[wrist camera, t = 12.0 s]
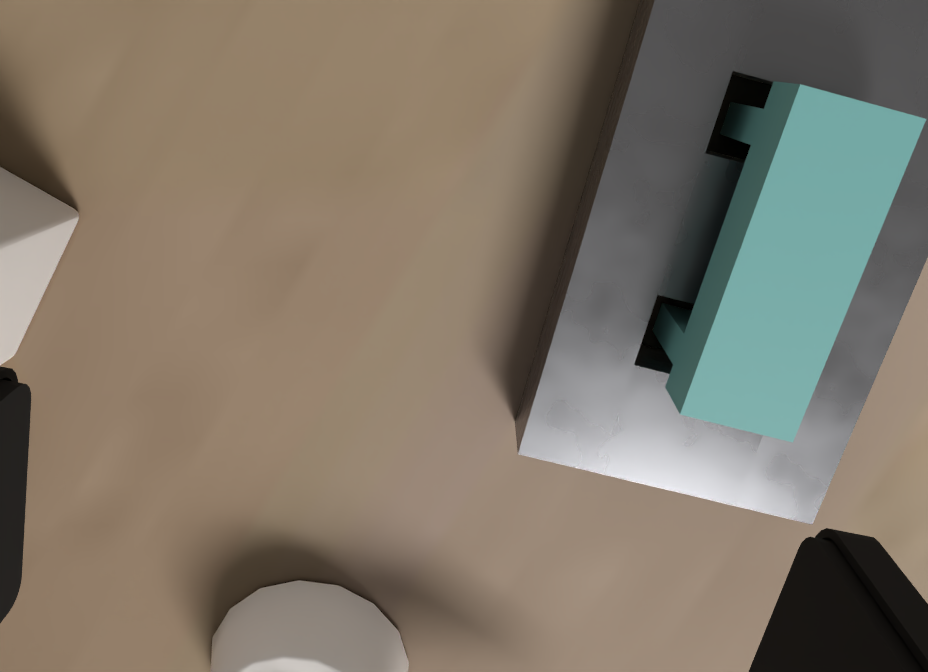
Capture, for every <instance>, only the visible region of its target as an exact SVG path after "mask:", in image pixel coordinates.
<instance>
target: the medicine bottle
mask: <svg viewBox="0 0 928 672" xmlns="http://www.w3.org/2000/svg"><path fill="white" fill-rule="evenodd" d="M78 220H79V214H78V212H77V211H76V210H75V209H74V208H72V207H70V206H69V205H67V204H65V203H63V202H62V201H60V200H58V199H56V198H55V197H53V196H51V195H49V194H47V193H46V192H44V191H42V190H40V189H39V188H37V187H35V186H33V185H32V184H30V183H28V182H26V181H24V180H23V179H21V178H19V177H17V176H16V175H14V174H12V173H10V172H9V171H7V170H5V169H3V168H1V167H0V365H1V364H3V363H4V362H6V361H7V360H9V359H10V358H12V357H13V356H14V355H15V353H16V352H17V349H18V347H19V345H20V343H21V341H22V339H23V337H24V335H25V332H26V330H27V328H28V326H29V324H30V322H31V320H32V318H33V315H34V313H35V311H36V309H37V307H38V305H39V303H40V301H41V298H42V296H43V294H44V292H45V290H46V288H47V286H48V284H49V281H50V279H51V277H52V275H53V273H54V271H55V269H56V267H57V265H58V262H59V260H60V258H61V256H62V254H63V252H64V250H65V248H66V245H67V243H68V241H69V239H70V237H71V235H72V233H73V231H74V228H75V226H76V224H77V222H78Z"/></svg>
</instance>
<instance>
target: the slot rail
mask: <svg viewBox="0 0 928 672" xmlns="http://www.w3.org/2000/svg"><path fill="white" fill-rule="evenodd" d="M731 75H735V76H739V77H743V78H746V79H750V80H754V81H757V82H761V83H765V84H768V85H772V84H773V82H774V81H776V82H785V83H794V84H801V85H805V86H809V87H812V88H816V89H820V90H823V91H827V92H830V93H834V94H838V95H841V96H845V97H849V98H852V99H856V100H859V101H863V102H867V103H870V104H874V105H878V106H881V107H885V108H889V109H892V110H896V111H899V112H903V113H907V114H910V115H914V116H918V117H921V118H925V119H926V121H925V124H924V126H923V129H922V131H921V133H920V136H919V138H918V141H917V143H916V145H915V148H914V150H913V153H912V155H911V158H910V160H909V162H908V165H907V167H906V170H905V172H904V175H903V177H902V179H901V182H900V184H899V187H898V189H897V191H896V194H895V196H894V199H893V201H892V204H891V206H890V208H889V211H888V213H887V216H886V218H885V221H884V223H883V225H882V228H881V230H880V233H879V235H878V237H877V240H876V242H875V245H874V247H873V250H872V252H871V254H870V257H869V259H868V262H867V264H866V267H865V269H864V271H863V274H862V276H861V279H860V281H859V283H858V286H857V288H856V291H855V293H854V296H853V298H852V300H851V303H850V305H849V308H848V310H847V313H846V315H845V317H844V320H843V322H842V325H841V327H840V329H839V332H838V334H837V337H836V339H835V342H834V344H833V346H832V349H831V351H830V354H829V356H828V359H827V361H826V363H825V366H824V368H823V371H822V373H821V375H820V378H819V380H818V383H817V385H816V388H815V390H814V392H813V395H812V397H811V400H810V402H809V405H808V407H807V409H806V412H805V414H804V417H803V419H802V421H801V424H800V426H799V429H798V431H797V434H796V436H795V438H794V441H793V442H789V441H785V440H781V439H777V438H773V437H769V436H765V435H760V434H756V433H752V432H748V431H744V430H740V429H736V428H732V427H728V426H724V425H720V424H716V423H712V422H708V421H704V420H700V419H696V418H692V417H688V416H684V415H680V414H679V412H678V410H677V408H676V406H675V404H674V403H673V401H672V399H671V397H670V395H669V393H668V392H667V390H666V388H665V386H666V383H667V380H668V378H669V375H670V372H671V369H672V366H673V364H672V362H671V360H670V359H669V357H668V355H667V354H666V352H665V350H661V349H657V348H653V347H649V346H645V345H641V343H642V340H643V337H644V334H645V331H646V328H647V325H648V322H649V319H650V316H651V313H652V310H653V307H654V304H655V301H656V298H657V295H661V296H665V297H668V298H672V299H676V300H680V301H684V302H688V303H692V304H695V301H696V299H697V296H698V293H699V290H700V287H701V285H702V282H703V279H704V276H705V273H706V270H707V268H708V265H709V262H710V259H711V256H712V254H713V251H714V248H715V245H716V242H717V239H718V237H719V234H720V231H721V228H722V225H723V223H724V220H725V217H726V214H727V211H728V208H729V206H730V203H731V200H732V197H733V194H734V191H735V189H736V186H737V183H738V180H739V177H740V175H741V172H742V169H743V166H744V163H745V160H743V159H739V158H736V157H732V156H728V155H724V154H721V153H717V152H713V151H709V150H706V149H707V146H708V143H709V140H710V137H711V134H712V131H713V128H714V125H715V122H716V119H717V116H718V113H719V110H720V108H721V105H722V102H723V99H724V96H725V93H726V90H727V87H728V84H729V81H730V78H731ZM927 257H928V0H640V3H639V6H638V10H637V13H636V17H635V20H634V23H633V27H632V30H631V33H630V37H629V40H628V43H627V47H626V50H625V54H624V57H623V60H622V64H621V67H620V70H619V74H618V77H617V81H616V84H615V87H614V91H613V94H612V97H611V101H610V104H609V107H608V111H607V114H606V118H605V121H604V124H603V128H602V131H601V134H600V138H599V141H598V145H597V148H596V151H595V155H594V158H593V161H592V165H591V168H590V171H589V175H588V178H587V182H586V185H585V188H584V192H583V195H582V198H581V202H580V205H579V209H578V212H577V215H576V219H575V222H574V225H573V229H572V232H571V235H570V239H569V242H568V246H567V249H566V252H565V256H564V259H563V262H562V266H561V269H560V273H559V276H558V279H557V283H556V286H555V289H554V293H553V296H552V299H551V303H550V306H549V310H548V313H547V316H546V320H545V323H544V326H543V330H542V333H541V337H540V340H539V343H538V347H537V350H536V353H535V357H534V360H533V363H532V367H531V370H530V374H529V377H528V380H527V384H526V387H525V390H524V394H523V397H522V401H521V404H520V407H519V411H518V414H517V417H516V421H515V428H516V439H517V449H518V454H520V455H524V456H528V457H532V458H537V459H541V460H545V461H549V462H553V463H558V464H562V465H566V466H570V467H574V468H578V469H583V470H587V471H591V472H595V473H599V474H603V475H608V476H612V477H616V478H620V479H624V480H629V481H633V482H637V483H641V484H645V485H649V486H654V487H658V488H662V489H666V490H670V491H674V492H679V493H683V494H687V495H691V496H695V497H700V498H704V499H708V500H712V501H716V502H720V503H725V504H729V505H733V506H737V507H741V508H745V509H750V510H754V511H758V512H762V513H766V514H771V515H775V516H779V517H783V518H787V519H791V520H796V521H800V522H804V523H808V524H813V522H814V519H815V517H816V515H817V512H818V510H819V508H820V505H821V503H822V501H823V498H824V496H825V494H826V491H827V489H828V487H829V485H830V482H831V480H832V478H833V475H834V473H835V471H836V468H837V466H838V464H839V461H840V459H841V457H842V454H843V452H844V450H845V447H846V445H847V443H848V440H849V438H850V436H851V433H852V431H853V429H854V427H855V424H856V422H857V420H858V417H859V415H860V413H861V410H862V408H863V406H864V403H865V401H866V399H867V396H868V394H869V392H870V389H871V387H872V385H873V382H874V380H875V378H876V375H877V373H878V371H879V369H880V366H881V364H882V362H883V359H884V357H885V355H886V352H887V350H888V348H889V345H890V343H891V341H892V338H893V336H894V334H895V331H896V329H897V327H898V324H899V322H900V320H901V317H902V315H903V313H904V311H905V308H906V306H907V304H908V301H909V299H910V297H911V294H912V292H913V290H914V287H915V285H916V283H917V280H918V278H919V276H920V273H921V271H922V269H923V266H924V264H925V262H926V259H927Z"/></svg>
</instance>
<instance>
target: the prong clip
mask: <svg viewBox="0 0 928 672" xmlns="http://www.w3.org/2000/svg"><path fill="white" fill-rule="evenodd" d="M925 121H926V119H925V118H921V117H918V116H914V115H910V114H907V113H903V112H899V111H896V110H892V109H889V108H885V107H881V106H878V105H874V104H870V103H867V102H863V101H859V100H856V99H852V98H849V97H845V96H841V95H838V94H834V93H830V92H827V91H823V90H820V89H816V88H812V87H809V86H805V85H801V84H794V83H785V82H776V81H774V82H773V84H772V87H771V90H770V93H769V96H768V98H767V101H766V104H765V107H764V109H762V108H757V107H752V106H748V105H743V104H738V103H734V102H730V105H729V108H728V111H727V114H726V117H725V120H724V123H723V126H722V129H721V131H720V134H721V135H724V136H727V137H730V138H733V139H735V140H738V141H741V142H744V143H746V144H749V145H751V146H750V149H749V152H748V155H747V158H746V160H745V163H744V166H743V169H742V172H741V175H740V177H739V180H738V183H737V186H736V189H735V191H734V194H733V197H732V200H731V203H730V206H729V208H728V211H727V214H726V217H725V220H724V223H723V225H722V228H721V231H720V234H719V237H718V239H717V242H716V245H715V248H714V251H713V254H712V256H711V259H710V262H709V265H708V268H707V270H706V273H705V276H704V279H703V282H702V285H701V287H700V290H699V293H698V296H697V299H696V301H695V304H694V307H693V310H688V309H684V308H680V307H676V306H673V305H669V304H665V303H662V304H661V307H660V310H659V313H658V316H657V318H656V321H655V324H654V327H653V330H652V331H653V332H654V334H655V336H656V337H657V339H658V341H659V342H660V344H661V345H662V347H663V349H664V350H665V352H666V354H667V355H668V357H669V359H670V360H671V362H672V364H673V366H672V369H671V372H670V375H669V378H668V380H667V383H666V386H665V388H666V390H667V392H668V393H669V395H670V397H671V399H672V401H673V403H674V404H675V406H676V408H677V410H678V412H679V414H680V415H684V416H688V417H692V418H696V419H700V420H704V421H708V422H712V423H716V424H720V425H724V426H728V427H732V428H736V429H740V430H744V431H748V432H752V433H756V434H760V435H765V436H769V437H773V438H777V439H781V440H785V441H789V442H793V441H794V438H795V436H796V434H797V431H798V429H799V426H800V424H801V421H802V419H803V417H804V414H805V412H806V409H807V407H808V405H809V402H810V400H811V397H812V395H813V392H814V390H815V388H816V385H817V383H818V380H819V378H820V375H821V373H822V371H823V368H824V366H825V363H826V361H827V359H828V356H829V354H830V351H831V349H832V346H833V344H834V342H835V339H836V337H837V334H838V332H839V329H840V327H841V325H842V322H843V320H844V317H845V315H846V313H847V310H848V308H849V305H850V303H851V300H852V298H853V296H854V293H855V291H856V288H857V286H858V283H859V281H860V279H861V276H862V274H863V271H864V269H865V267H866V264H867V262H868V259H869V257H870V254H871V252H872V250H873V247H874V245H875V242H876V240H877V237H878V235H879V233H880V230H881V228H882V225H883V223H884V221H885V218H886V216H887V213H888V211H889V208H890V206H891V204H892V201H893V199H894V196H895V194H896V191H897V189H898V187H899V184H900V182H901V179H902V177H903V175H904V172H905V170H906V167H907V165H908V162H909V160H910V158H911V155H912V153H913V150H914V148H915V145H916V143H917V141H918V138H919V136H920V133H921V131H922V129H923V126H924V124H925Z"/></svg>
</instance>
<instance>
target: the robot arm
mask: <svg viewBox="0 0 928 672" xmlns="http://www.w3.org/2000/svg"><path fill="white" fill-rule="evenodd" d="M30 410H31V392H30V388H29V386H28V385H27V384H22V383H18V379H17V376H16V373H15V372H14V370H13V369H10V368H5V367H0V623H1V622H2V620H3V619H4V618H5V616H6V615H7V614H8V612H9V611H10V609H11V608H12V606H13V604H14V602H15V600H16V597H17V595H18V592H19V588H20V584H21V577H22V560H23V542H24V523H25V504H26V485H27V466H28V447H29V429H30ZM749 672H928V604H927V603H926V601H925V600H924V599H923V598H922V596H921V595H920V594H919V592H918V591H917V590H916V589H915V587H914V586H913V585H912V584H911V582H910V581H909V580H908V578H907V577H906V576H905V575H904V573H903V572H902V571H901V570H900V568H899V567H898V566H897V564H896V563H895V562H894V561H893V559H892V558H891V557H890V555H889V554H888V553H887V552H886V550H885V549H884V548H883V547H882V545H881V544H880V543H879V542H878V541H877V540H876V539H875V538H874V537H869V536H864V535H859V534H853V533H848V532H843V531H838V530H833V529H828V528H826V529H824V530H821V531H820V532H819V533H818V534H817V535H816V537H815V538H813V537H808V538H806V539H805V540H804V541H803V542H802V543H801V545H800V547H799V549H798V552H797V554H796V556H795V559H794V561H793V564H792V566H791V569H790V571H789V574H788V576H787V579H786V581H785V584H784V586H783V588H782V591H781V593H780V596H779V598H778V601H777V603H776V606H775V608H774V611H773V613H772V616H771V618H770V620H769V623H768V625H767V628H766V630H765V633H764V635H763V638H762V640H761V643H760V645H759V648H758V650H757V652H756V655H755V657H754V660H753V662H752V665H751V667H750V670H749Z"/></svg>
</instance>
